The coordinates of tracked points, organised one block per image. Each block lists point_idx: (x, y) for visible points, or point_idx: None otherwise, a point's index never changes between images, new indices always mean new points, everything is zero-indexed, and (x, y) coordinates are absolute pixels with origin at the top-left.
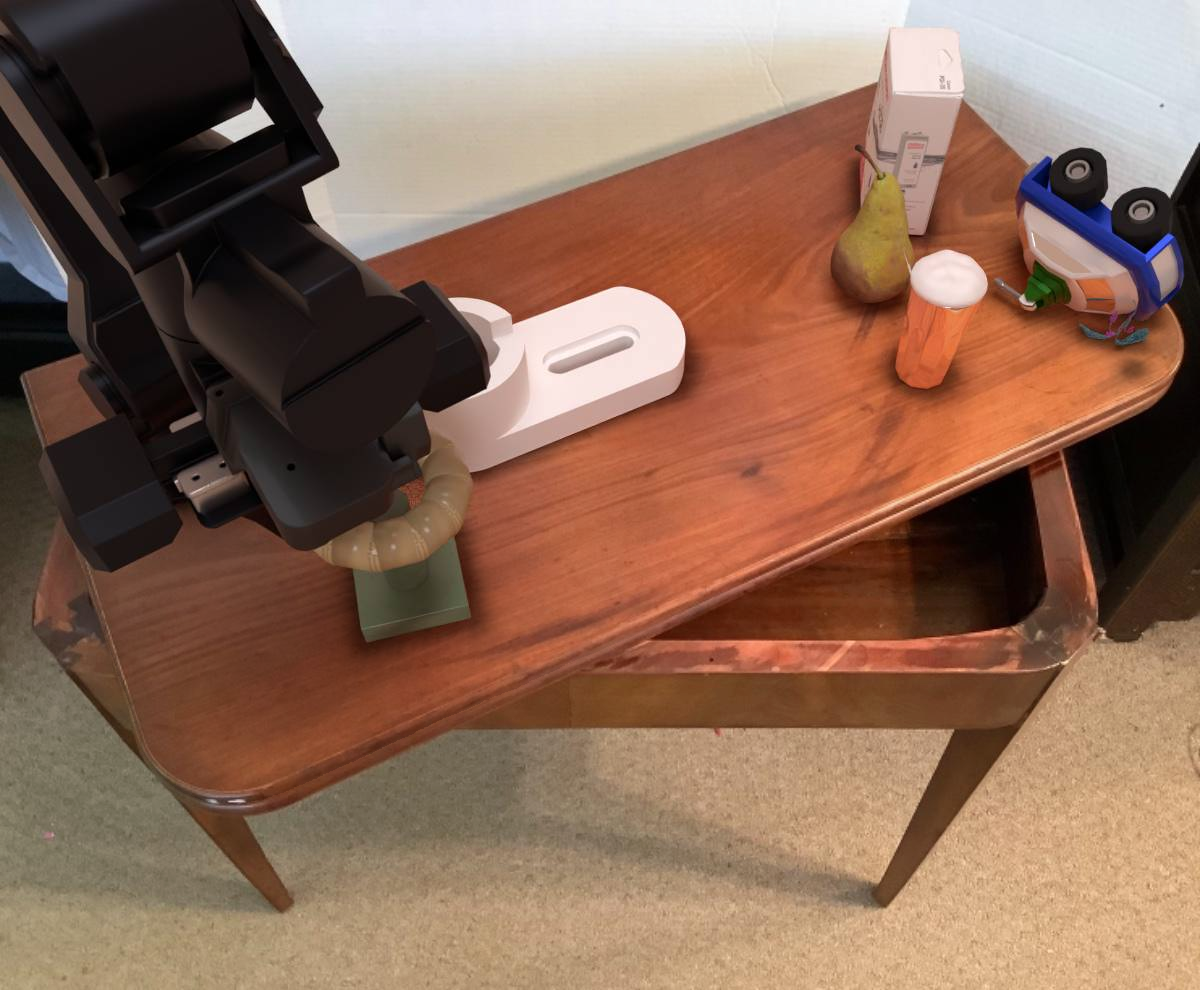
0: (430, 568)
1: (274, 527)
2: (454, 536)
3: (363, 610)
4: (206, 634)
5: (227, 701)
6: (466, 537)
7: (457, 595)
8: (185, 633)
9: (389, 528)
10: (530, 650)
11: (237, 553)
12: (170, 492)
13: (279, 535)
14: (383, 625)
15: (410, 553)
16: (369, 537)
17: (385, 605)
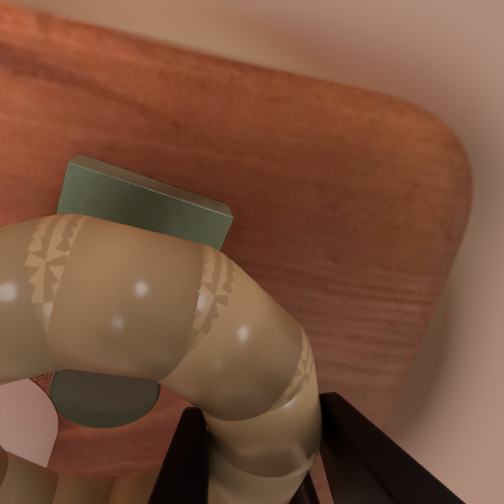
0: None
1: (435, 493)
2: None
3: (216, 241)
4: (361, 307)
5: (390, 226)
6: None
7: (77, 187)
8: (374, 318)
9: (122, 350)
10: (5, 34)
11: None
12: None
13: (399, 448)
14: (203, 206)
15: (99, 240)
16: (198, 349)
17: (186, 232)
